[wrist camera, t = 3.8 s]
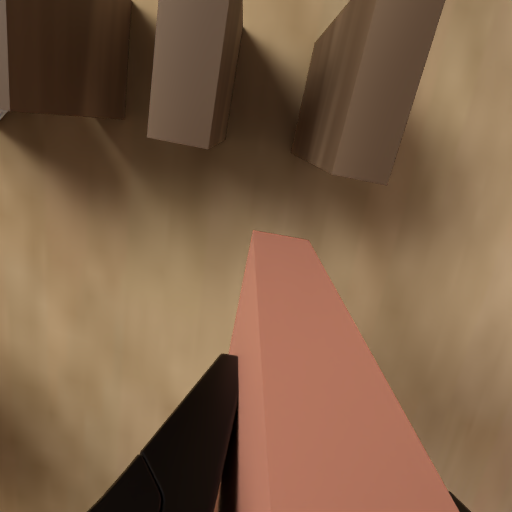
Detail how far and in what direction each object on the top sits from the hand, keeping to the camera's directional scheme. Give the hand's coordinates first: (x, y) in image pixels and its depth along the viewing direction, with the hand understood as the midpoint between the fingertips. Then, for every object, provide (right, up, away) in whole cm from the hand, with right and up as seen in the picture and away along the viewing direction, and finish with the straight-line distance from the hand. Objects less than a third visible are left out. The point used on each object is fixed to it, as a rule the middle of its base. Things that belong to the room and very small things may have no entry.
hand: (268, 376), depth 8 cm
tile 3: (+3, +10, +9) cm, 14 cm away
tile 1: (-7, +12, +8) cm, 16 cm away
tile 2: (-2, +11, +9) cm, 14 cm away
